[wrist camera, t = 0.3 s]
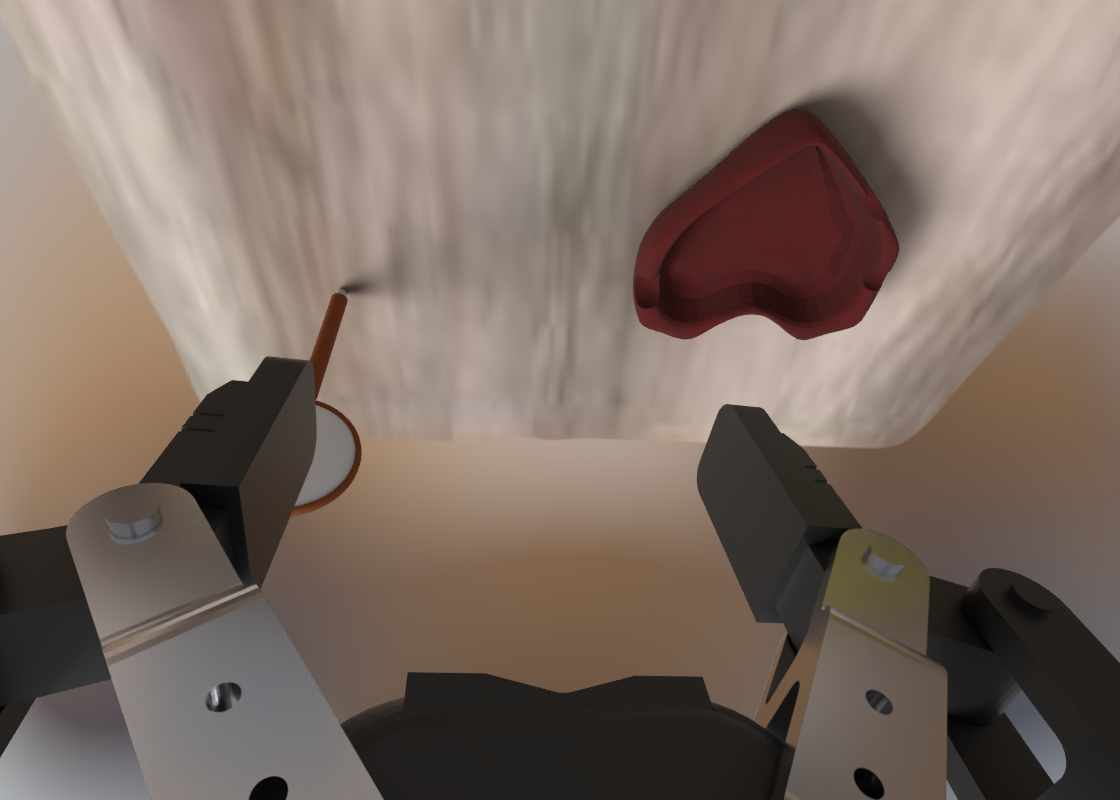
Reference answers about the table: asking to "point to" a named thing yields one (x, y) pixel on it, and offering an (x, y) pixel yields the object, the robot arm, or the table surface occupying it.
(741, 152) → the ashtray
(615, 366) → the table surface
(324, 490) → the magnifying glass
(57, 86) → the table surface
